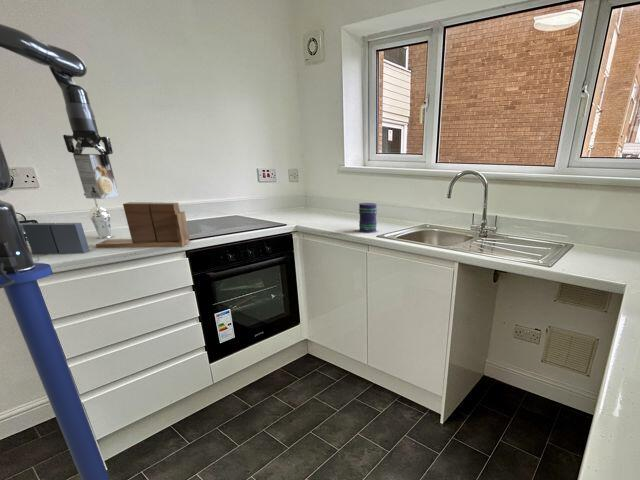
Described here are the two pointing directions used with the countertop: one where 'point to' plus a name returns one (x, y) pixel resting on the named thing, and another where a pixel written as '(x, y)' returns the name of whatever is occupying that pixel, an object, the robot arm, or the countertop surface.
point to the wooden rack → (182, 236)
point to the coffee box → (96, 176)
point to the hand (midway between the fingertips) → (94, 165)
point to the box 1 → (140, 221)
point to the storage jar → (367, 217)
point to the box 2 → (165, 221)
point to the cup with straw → (101, 221)
